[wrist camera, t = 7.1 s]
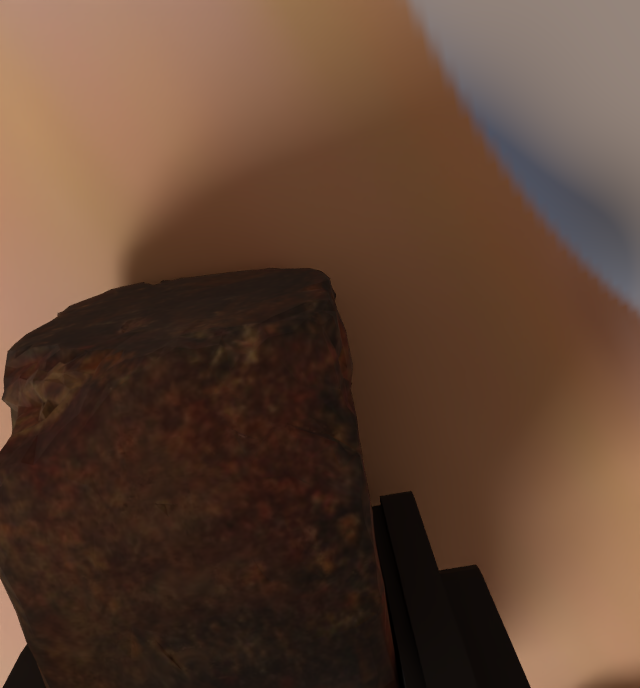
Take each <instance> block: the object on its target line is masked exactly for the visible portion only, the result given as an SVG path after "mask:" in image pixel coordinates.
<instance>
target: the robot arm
mask: <svg viewBox="0 0 640 688" xmlns="http://www.w3.org/2000/svg"><path fill="white" fill-rule="evenodd" d="M380 502H381V505H379V506H373V507H372V511H373V525H374V533H375V541H376V548H377V553H378V557H379V562H380V567H381V572H382V577H383V581H384V586H385V595H386V602H387V609H388V615H389V621H390V627H391V634H392V640H393V646H394V652H395V658H396V664H397V670H398V676H399V682H400V688H531V687H530V685H529V682H528V680H527V678H526V676H525V673H524V671H523V669H522V666H521V664H520V662H519V659H518V657H517V655H516V652H515V650H514V648H513V645H512V643H511V641H510V638H509V636H508V634H507V631H506V629H505V627H504V624H503V622H502V620H501V618H500V615H499V613H498V611H497V608H496V606H495V604H494V601H493V599H492V597H491V594H490V592H489V590H488V587H487V585H486V583H485V580H484V578H483V576H482V574H481V572H480V570H479V568H478V567H477V566H476V565H470V566H464V567H458V568H452V569H446V570H441V571H439V570H438V567H437V564H436V561H435V558H434V555H433V552H432V549H431V546H430V543H429V540H428V537H427V534H426V531H425V528H424V525H423V522H422V519H421V516H420V513H419V510H418V507H417V504H416V501H415V498H414V495H413V493H412V491H408V492H403V493H397V494H391V495H385V496H380ZM3 688H46V686H45V683H44V681H43V678H42V675H41V673H40V670H39V667H38V665H37V662H36V660H35V658H34V656H33V654H32V652H31V650H30V648H29V647H28V645H26V646H25V648H24V649H23V651H22V652H21V654H20V656H19V658H18V659H17V661H16V663H15V665H14V667H13V669H12V671H11V673H10V675H9V677H8V679H7V680H6V682H5V684H4V686H3Z"/></svg>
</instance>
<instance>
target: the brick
mask: <svg viewBox="0 0 640 688" xmlns="http://www.w3.org/2000/svg"><path fill="white" fill-rule="evenodd" d="M335 297H336V294H335V292H334V290H333V288H332V286H331V282H330V278H329V277H327V276H326V275H325V274H324V273H323V272H322V271H318V270H314V269H310V268H300V269H277V268H267V269H261V270H247V271H237V272H229V273H221V274H213V275H205V276H197V277H188V278H179V279H176V280H163V281H162V282H161V283H160V284H156V285H151V284H146V283H144V282H142V283H138V284H133V285H128V286H124V287H119V288H115V289H111V290H109V291H107V292H105V293H103V294H100V295H97V296H95V297H92V298H89V299H87V300H84V301H81V302H79V303H76V304H73V305H71V306H69V307H68V308H67V309H65V310H64V311H62V312H60V313H58V317H56V318H55V319H53V320H52V321H50V322H48V323H46V324H45V325H43V326H41V327H39V328H37V329H35V330H33V331H32V332H30V333H28V334H26V335H25V336H24V337H23V338H21V339H20V340H19V341H18V342H17V343H15V344H14V345H13V346H12V347H11V349H10V350H9V351H8V353H7V360H6V366H5V374H4V393H3V397H2V400H3V401H4V402H5V403H6V404H7V405H8V406H9V407H10V408H11V418H12V435H11V437H10V438H9V440H8V441H7V443H6V444H5V446H4V447H3V448H2V450H1V451H0V579H1V581H2V583H3V585H4V587H5V589H6V591H7V594H8V596H9V598H10V600H11V602H12V604H13V606H14V609H15V611H16V613H17V616H18V619H19V622H20V625H21V628H22V631H23V633H24V636H25V639H26V642H27V645H28V647H29V648H30V650H31V652H32V654H33V656H34V658H35V660H36V662H37V665H38V667H39V670H40V673H41V675H42V678H43V681H44V683H45V686H46V688H400V682H399V676H398V670H397V664H396V658H395V652H394V646H393V640H392V634H391V627H390V621H389V615H388V609H387V602H386V595H385V586H384V581H383V577H382V572H381V567H380V562H379V557H378V553H377V548H376V541H375V533H374V525H373V511H372V507H371V502H370V496H369V491H368V485H367V479H366V474H365V468H364V462H363V456H362V451H361V444H360V440H359V433H358V425H357V417H356V413H355V408H354V403H353V398H352V393H351V385H352V383H351V377H352V365H353V363H352V359H351V355H350V350H349V346H348V341H347V335H346V330H345V327H344V325H343V322H342V320H341V318H340V315H339V313H338V310H337V307H336V304H335Z"/></svg>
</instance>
